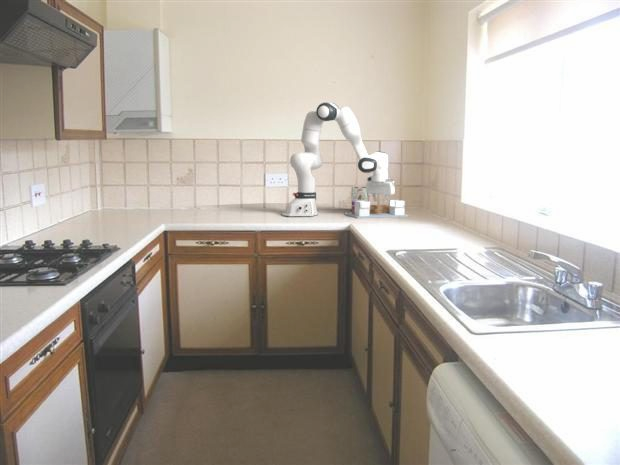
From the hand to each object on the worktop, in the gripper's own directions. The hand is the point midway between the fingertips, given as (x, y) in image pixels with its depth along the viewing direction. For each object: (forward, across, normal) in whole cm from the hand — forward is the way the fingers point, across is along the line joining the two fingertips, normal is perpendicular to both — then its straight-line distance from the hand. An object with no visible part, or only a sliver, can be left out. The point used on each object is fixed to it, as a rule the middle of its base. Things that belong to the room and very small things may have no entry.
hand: (379, 201), depth 324 cm
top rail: (+8, +8, -4) cm, 12 cm away
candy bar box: (+9, +26, -11) cm, 29 cm away
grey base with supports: (+9, +5, -2) cm, 10 cm away
